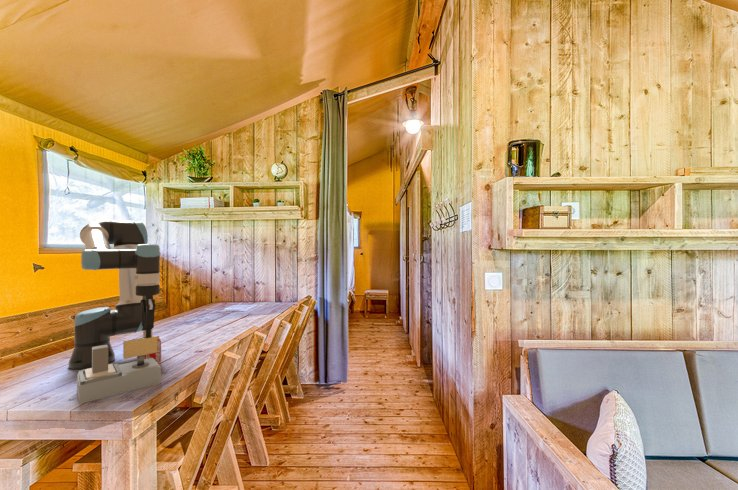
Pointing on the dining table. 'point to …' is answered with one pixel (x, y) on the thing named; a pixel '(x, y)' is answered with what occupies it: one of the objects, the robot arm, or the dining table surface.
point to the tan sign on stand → (139, 348)
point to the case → (118, 380)
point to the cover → (99, 363)
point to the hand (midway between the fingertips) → (147, 345)
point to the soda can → (156, 355)
